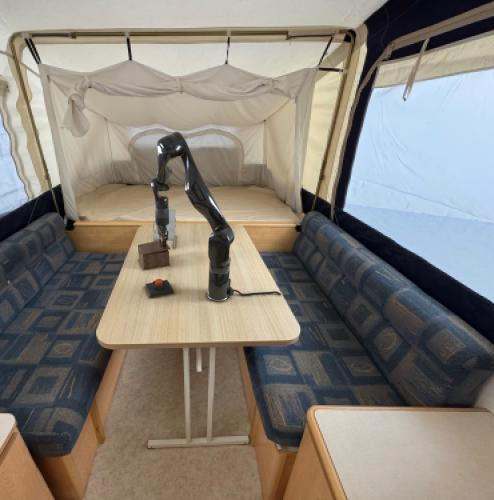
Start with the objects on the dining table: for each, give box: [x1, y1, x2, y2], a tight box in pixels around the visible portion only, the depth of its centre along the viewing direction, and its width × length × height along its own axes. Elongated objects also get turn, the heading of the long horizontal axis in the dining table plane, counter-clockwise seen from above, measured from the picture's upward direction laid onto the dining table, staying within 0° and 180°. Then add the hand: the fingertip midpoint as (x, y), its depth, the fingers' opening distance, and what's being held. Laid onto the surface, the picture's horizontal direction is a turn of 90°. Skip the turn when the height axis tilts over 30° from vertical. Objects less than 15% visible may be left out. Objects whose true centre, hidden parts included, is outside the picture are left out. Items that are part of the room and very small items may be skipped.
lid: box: [137, 236, 171, 255], centre depth 147 cm, size 15×13×5 cm
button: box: [154, 278, 164, 286], centre depth 125 cm, size 4×4×2 cm
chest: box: [137, 246, 170, 271], centre depth 150 cm, size 15×13×9 cm
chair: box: [152, 208, 177, 249], centre depth 174 cm, size 13×25×20 cm, turn 1°
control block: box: [144, 279, 174, 299], centre depth 126 cm, size 11×9×4 cm
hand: (163, 244), depth 149 cm, fingers closed on lid, 5 cm apart
